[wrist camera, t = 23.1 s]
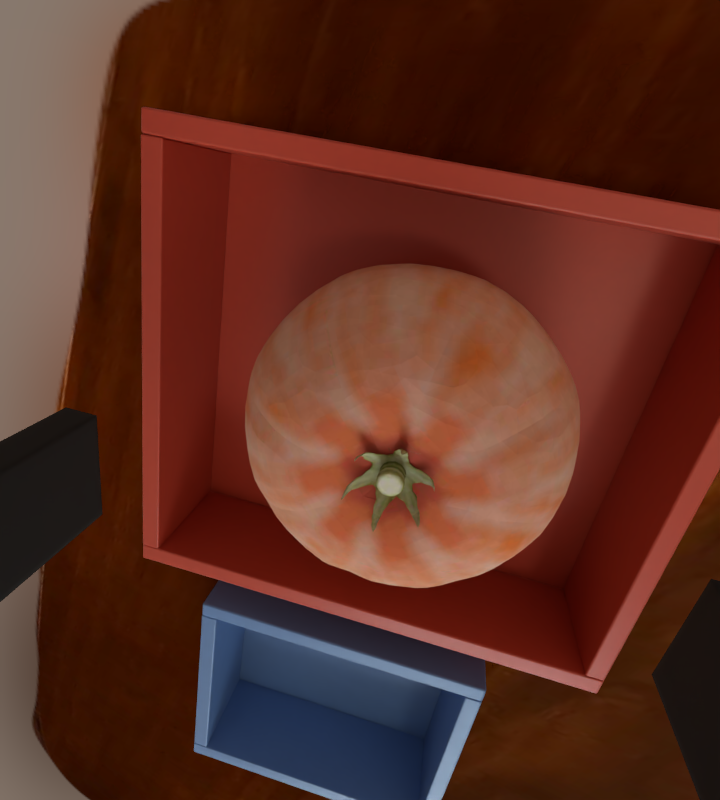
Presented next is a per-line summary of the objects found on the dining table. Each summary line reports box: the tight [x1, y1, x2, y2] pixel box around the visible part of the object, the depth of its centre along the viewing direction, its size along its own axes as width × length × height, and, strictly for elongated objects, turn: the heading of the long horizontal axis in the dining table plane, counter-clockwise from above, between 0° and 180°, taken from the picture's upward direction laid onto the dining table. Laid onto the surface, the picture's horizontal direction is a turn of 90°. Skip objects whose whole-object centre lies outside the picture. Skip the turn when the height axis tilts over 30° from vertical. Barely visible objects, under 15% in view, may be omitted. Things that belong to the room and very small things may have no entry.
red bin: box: [141, 106, 720, 693], centre depth 18 cm, size 16×18×5 cm
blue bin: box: [194, 580, 486, 800], centre depth 25 cm, size 10×12×5 cm
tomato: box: [245, 264, 580, 588], centre depth 16 cm, size 11×11×8 cm
